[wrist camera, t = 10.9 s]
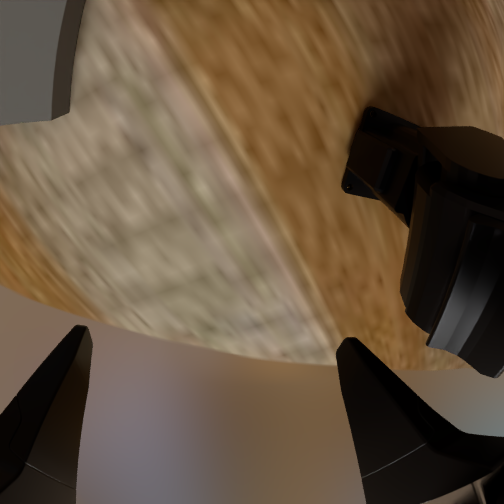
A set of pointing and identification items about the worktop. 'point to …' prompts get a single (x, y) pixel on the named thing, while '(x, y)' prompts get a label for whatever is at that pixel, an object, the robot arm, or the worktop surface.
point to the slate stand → (37, 58)
